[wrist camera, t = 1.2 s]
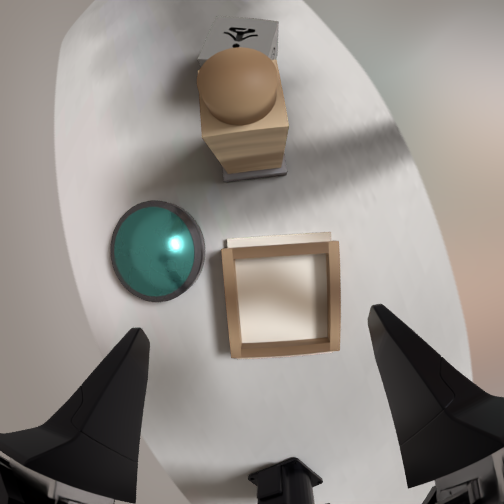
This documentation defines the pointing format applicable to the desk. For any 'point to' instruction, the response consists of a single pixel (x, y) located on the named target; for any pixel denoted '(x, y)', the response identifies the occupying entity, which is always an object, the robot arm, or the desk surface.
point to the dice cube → (240, 36)
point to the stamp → (243, 113)
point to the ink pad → (157, 251)
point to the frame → (282, 295)
